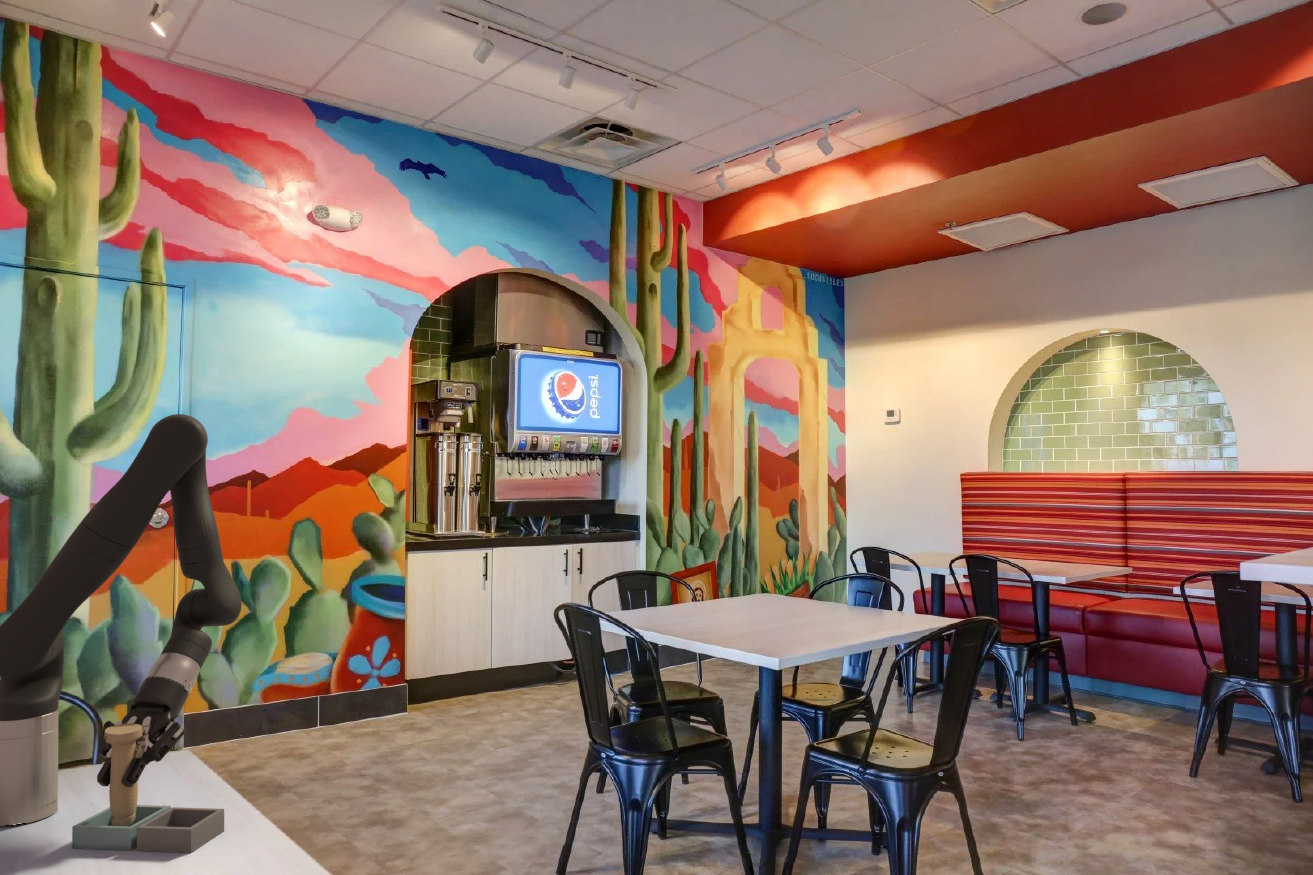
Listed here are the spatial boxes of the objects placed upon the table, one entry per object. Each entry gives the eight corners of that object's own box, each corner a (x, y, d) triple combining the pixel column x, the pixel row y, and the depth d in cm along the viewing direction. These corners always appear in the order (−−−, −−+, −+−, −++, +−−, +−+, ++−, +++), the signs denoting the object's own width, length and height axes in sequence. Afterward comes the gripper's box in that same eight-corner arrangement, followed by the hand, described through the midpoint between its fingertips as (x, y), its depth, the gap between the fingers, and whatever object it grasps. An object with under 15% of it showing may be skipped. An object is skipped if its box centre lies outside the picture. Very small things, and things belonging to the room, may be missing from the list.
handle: (112, 834, 133) (112, 736, 134) (100, 823, 138) (100, 728, 138) (147, 824, 137) (147, 729, 137) (134, 814, 141) (134, 721, 142)
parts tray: (72, 848, 133) (72, 826, 133) (115, 824, 142) (115, 804, 142) (130, 850, 132) (130, 828, 132) (170, 826, 141) (170, 806, 141)
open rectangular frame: (136, 850, 132) (136, 827, 132) (172, 829, 140) (172, 807, 140) (191, 853, 131) (191, 829, 131) (224, 831, 139) (224, 808, 139)
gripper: (118, 674, 146) (59, 772, 134) (195, 675, 145) (143, 774, 132) (140, 697, 151) (86, 794, 139) (215, 698, 150) (167, 796, 137)
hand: (114, 784), depth 136 cm, fingers closed on handle, 3 cm apart
